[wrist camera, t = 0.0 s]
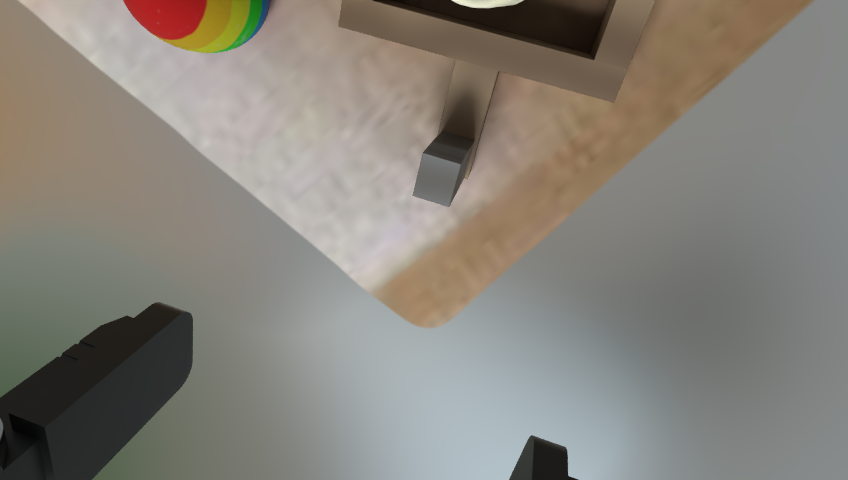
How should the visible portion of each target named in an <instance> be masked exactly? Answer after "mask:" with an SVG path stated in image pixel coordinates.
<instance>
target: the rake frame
mask: <svg viewBox="0 0 848 480" xmlns="http://www.w3.org/2000/svg"><path fill="white" fill-rule="evenodd" d="M654 3H655V0H610V1H609V4H608V7H607V10H606V12H605V15H604V18H603V21H602V23H601V26H600V29H599V32H598V34H597V37H596V40H595V43H594V45H593V48H592V51H591V54H589V53H585V52H582V51H578V50H574V49H570V48H567V47H563V46H559V45H555V44H552V43H548V42H544V41H541V40H537V39H533V38H529V37H526V36H522V35H518V34H514V33H511V32H507V31H503V30H499V29H496V28H492V27H488V26H485V25H481V24H477V23H473V22H470V21H466V20H462V19H458V18H455V17H451V16H447V15H443V14H440V13H436V12H432V11H428V10H425V9H421V8H417V7H414V6H410V5H406V4H402V3H399V2H395V1H392V0H342V4H341V12H340V19H339V27H342V28H346V29H349V30H353V31H357V32H360V33H364V34H368V35H371V36H375V37H378V38H382V39H386V40H389V41H393V42H396V43H400V44H404V45H407V46H411V47H414V48H418V49H422V50H425V51H429V52H433V53H436V54H440V55H443V56H447V57H451V58H454V59H456V61H455V65H454V70H453V74H452V78H451V82H450V86H449V90H448V94H447V98H446V102H445V106H444V110H443V115H442V119H441V123H440V127H439V131H438V135H437V137H436V138H435V139H434V141H433V142H432V143H431V144H430V145H429V146H428V147H427V149H426V150H425V151H424V152H423V154H422V158H421V162H420V167H419V171H418V175H417V179H416V184H415V188H414V192H413V196H415V197H418V198H421V199H425V200H428V201H431V202H434V203H437V204H441V205H444V206H447V207H449V206H450V204H451V202H452V200H453V198H454V197H455V195H456V193H457V191H458V189H459V187H460V185H461V183H462V181H463V179H464V178H465V179H468V177H469V174H470V171H471V167H472V164H473V160H474V157H475V153H476V150H477V146H478V143H479V139H480V136H481V133H482V129H483V126H484V122H485V119H486V115H487V112H488V108H489V105H490V101H491V98H492V94H493V91H494V87H495V84H496V80H497V77H498V73H499V71H501V72H505V73H508V74H512V75H516V76H519V77H523V78H526V79H530V80H534V81H537V82H541V83H545V84H548V85H552V86H555V87H559V88H563V89H566V90H570V91H573V92H577V93H581V94H584V95H588V96H591V97H595V98H599V99H602V100H606V101H610V102H613V103H614V102H615V99H616V97H617V94H618V92H619V89H620V87H621V84H622V82H623V79H624V77H625V74H626V72H627V69H628V67H629V65H630V62H631V60H632V57H633V55H634V52H635V50H636V47H637V45H638V42H639V40H640V37H641V35H642V32H643V30H644V27H645V25H646V22H647V20H648V17H649V15H650V12H651V10H652V7H653V5H654Z"/></svg>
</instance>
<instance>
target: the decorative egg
mask: <svg viewBox="0 0 848 480" xmlns="http://www.w3.org/2000/svg"><path fill="white" fill-rule="evenodd" d="M123 1H124V3H125V5H126V6H127V8H128V10H129V11H130V12H131V14H132V15H133V16H134V18H135V19H136V20H137V21H138V22H139V23H140V24H141V25H142V26H143V27H144V28H146V29H147V30H148V31H149V32H150V33H152V34H153V35H155V36H156V37H158V38H159V39H161V40H163V41H165V42H167V43H169V44H171V45H173V46H176V47H179V48H182V49H185V50H189V51H194V52H202V53H217V52H223V51H228V50H231V49H234V48H236V47H239V46H241V45H242V44H244V43H246V42H247V41H248V40H250V39H251V38H252V37H253V36H254V35H255V34H256V33H257V32H258V31H259V29H260V28H261V27H262V25H263V23H264V21H265V19H266V16H267V13H268V9H269V3H270V0H123Z"/></svg>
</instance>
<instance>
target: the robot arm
mask: <svg viewBox="0 0 848 480" xmlns="http://www.w3.org/2000/svg"><path fill="white" fill-rule="evenodd" d="M192 349H193V318H192V315H191V314H190V313H188V312H186V311H183V310H180V309H177V308H175V307H172V306H169V305H166V304H163V303H160V302H158V303H154V304H152V305H151V306H149V307H148V308H147V309H145V310H144V311H143V312H141V313H140V314H139V315H137V316H136V317H135V318H132V317H129V316H125V317H122V318H120V319H117V320H115V321H112V322H109V323H107V324H104V325H101V326H100V327H98V328H97V329H96V330H94V331H93V332H91V333H90V334H89V335H87V336H86V337H84V338H83V339H82V340H80V342H79V344H75V345H73V346H72V347H70V348H69V349H68V350H66V351H65V352H63V353H62V356H61V357H56V358H55V359H54V360H52V361H51V362H50V363H48V364H47V365H45V366H44V367H42V368H41V369H40V370H38V371H37V372H35V373H34V374H33V375H31V376H30V377H29V378H27V379H26V380H24V381H23V382H22V383H20V384H19V385H17V386H16V387H15V388H13V389H12V390H10V391H9V392H8V393H6V394H5V395H3V396H2V397H1V398H0V480H92V479H93V478H94V477H95V476H96V475H97V474H98V472H99V471H101V469H102V468H103V467H104V466H105V465H106V464H107V463H108V462H109V461H110V460H111V459H112V458H113V457H114V456H115V455H116V454H117V453H118V452H119V451H120V450H121V449H122V448H123V447H124V446H125V445H126V444H127V443H128V442H129V441H130V440H131V438H132V437H133V436H134V435H135V434H136V433H137V432H138V431H139V430H140V429H141V428H142V427H143V426H144V425H145V424H146V423H147V422H148V421H149V420H150V419H151V418H152V417H153V416H154V415H155V414H156V413H157V412H158V411H159V410H160V408H162V406H163V405H164V404H165V403H166V402H167V401H168V400H169V399H170V398H171V397H172V396H173V395H174V394H175V393H176V392H177V391H178V390H179V389H180V388H181V387H182V385H183V384H184V382H185V381H186V379H187V377H188V375H189V373H190V370H191V367H192V355H193V353H192V352H193V350H192ZM509 480H578V479H575V478H572V477H569V476H568V455H567V449H566V447H563V446H561V445H558V444H555V443H552V442H549V441H546V440H544V439H541V438H538V437H535V436H530V437H529V439H528V441H527V443H526V445H525V447H524V449H523V451H522V453H521V456H520V458H519V460H518V462H517V464H516V466H515V468H514V470H513V472H512V475H511V477H510V479H509Z"/></svg>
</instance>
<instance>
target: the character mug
mask: <svg viewBox="0 0 848 480" xmlns="http://www.w3.org/2000/svg"><path fill="white" fill-rule="evenodd" d="M452 1H454V2H456V3H458V4H460V5H464V6H468V7H472V8H493V7H501V6H508V5H515V4H517V3H519V2H521V1H523V0H452Z"/></svg>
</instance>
